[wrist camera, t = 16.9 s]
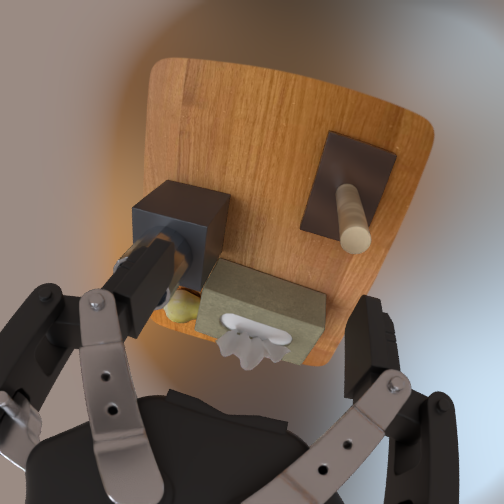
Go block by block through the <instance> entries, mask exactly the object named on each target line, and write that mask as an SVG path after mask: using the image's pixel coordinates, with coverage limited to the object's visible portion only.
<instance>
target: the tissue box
mask: <svg viewBox="0 0 504 504" xmlns="http://www.w3.org/2000/svg"><path fill="white" fill-rule="evenodd" d="M325 318H326V294H323V293H320V292H317V291H314V290H311V289H308V288H305V287H302V286H299V285H297V284H294V283H291V282H288V281H285V280H282V279H279V278H276V277H273V276H270V275H267V274H264V273H262V272H259V271H256V270H253V269H250V268H247V267H244V266H241V265H239V264H236V263H233V262H230V261H227V260H224V259H221V258H219V259H218V261H217V263H216V265H215V267H214V269H213V270H212V272H211V274H210V276H209V278H208V279H207V281H206V283H205V285H204V287H203V291H202V295H201V300H200V305H199V310H198V314H197V319H196V324H195V331H198V332H200V333H203V334H206V335H208V336H211V337H214V338H217V340H216V343H217V344H218V346H219V347H220V351H221V355H222V356H224V357H227V356H229V355H231V354H234V355H236V356H237V357H238V358H239V359H240V363H241V367H242V368H243V369H244V370H252V369H253V368H254V367H256V366H257V365H258V364H259V363H260V361H261V360H262V359H263V358H264V357H266V358H270V360H272V361H273V362H274V363H276V362H279V361H280V360H283V361H287V362H290V363H293V364H297V365H301V364H302V363H303V361H304V360H305V358H306V357H307V356H308V354H309V353H310V351H311V350H312V348H313V347H314V345H315V344H316V342H317V341H318V339H319V338H320V336H321V335H322V333H323V332H324V330H325Z"/></svg>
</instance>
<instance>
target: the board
mask: <svg viewBox="0 0 504 504" xmlns="http://www.w3.org/2000/svg"><path fill="white" fill-rule="evenodd" d="M396 157H397V156H396V155H395V153H393V152H390V151H388V150H385V149H382V148H380V147H377V146H374V145H372V144H369V143H366V142H363V141H360V140H357V139H354V138H351V137H348V136H345V135H342V134H339V133H336V132H333V131H330V130H329V131H328V135H327V138H326V142H325V145H324V149H323V152H322V155H321V159H320V162H319V165H318V169H317V172H316V175H315V179H314V182H313V185H312V189H311V192H310V195H309V198H308V201H307V205H306V208H305V211H304V214H303V217H302V220H301V224H300V230H303V231H307V232H310V233H314V234H317V235H320V236H324V237H327V238H330V239H334V240H337V241H340V233H339V222H338V212H337V203H336V191H337V189H338V187H339V186H341V185H343V184H351V185H353V186H355V187H356V188H357V190H358V193H359V196H360V200H361V203H362V206H363V210H364V213H365V217H366V221H367V224H368V228H369V226H370V223H371V221H372V219H373V216H374V214H375V211H376V209H377V207H378V204H379V202H380V199H381V197H382V194H383V192H384V189H385V186H386V184H387V181H388V179H389V176H390V173H391V171H392V168H393V165H394V162H395V160H396Z"/></svg>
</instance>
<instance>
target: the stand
mask: <svg viewBox="0 0 504 504" xmlns="http://www.w3.org/2000/svg"><path fill="white" fill-rule="evenodd" d="M230 196H231V195H230V194H226V193H221V192H217V191H213V190H209V189H205V188H200V187H196V186H192V185H187V184H183V183H178V182H174V181H169V180H166V181H165V182H164V183H162V184H161V185H160V186H159V187H157V188H156V189H155V190H153V191H152V192H151V193H150V194H148V195H147V196H146V197H145V198H143V199H142V200H141V201H140V202H138V203H137V204H136V205H135V206H133V207H132V224H133V225H132V226H133V244H134V243H135V242H136V241H137V240H138V239H139V238H140V237H141V236H142V235H143V234H144V233H145V232H146V231H147V230H148V229H150V228H152V227H154V226H166V227H169V228H171V229H174V230H176V231H177V232H179V233H180V234H181V235H182V236H183V237H184V238H185V239H186V240H187V242H188V244H189V245H190V247H191V249H192V254H193V261H192V265H191V267H190V269H189V271H188V272H187V274H186V275H185V277H184V279H183V280H182V282H181V283H180V286H183V287H186V288H190V289H193V290H196V291H199V292H200V291H201V290H202V288H203V286H204V284H205V282H206V280H207V278H208V276H209V275H210V273H211V271H212V269H213V267H214V265H215V263H216V261H217V260H218V258H219V256H220V254H221V252H222V246H223V240H224V233H225V227H226V221H227V214H228V208H229V202H230Z"/></svg>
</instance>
